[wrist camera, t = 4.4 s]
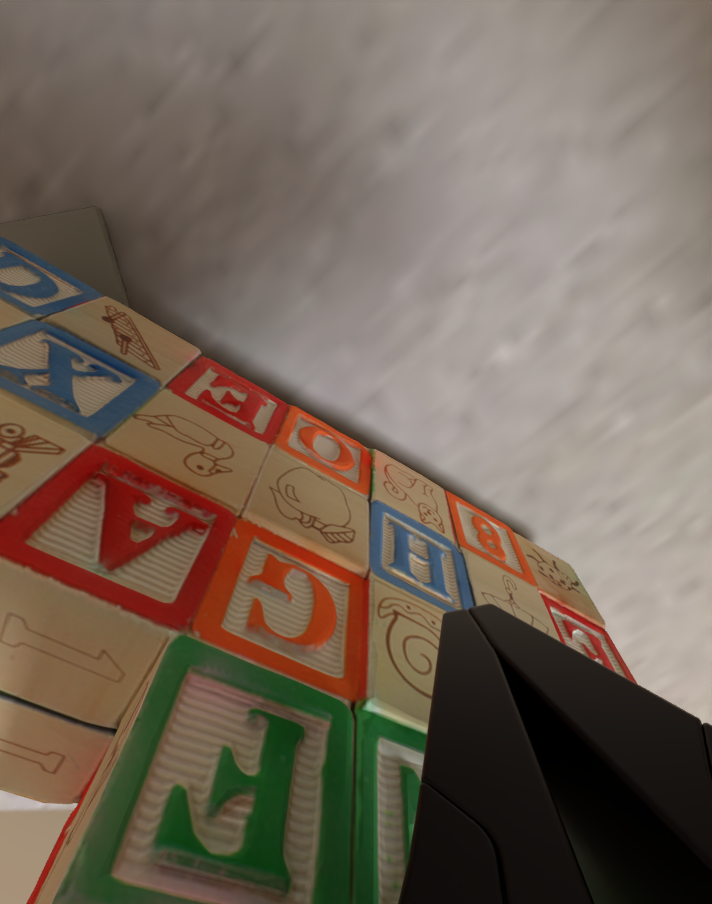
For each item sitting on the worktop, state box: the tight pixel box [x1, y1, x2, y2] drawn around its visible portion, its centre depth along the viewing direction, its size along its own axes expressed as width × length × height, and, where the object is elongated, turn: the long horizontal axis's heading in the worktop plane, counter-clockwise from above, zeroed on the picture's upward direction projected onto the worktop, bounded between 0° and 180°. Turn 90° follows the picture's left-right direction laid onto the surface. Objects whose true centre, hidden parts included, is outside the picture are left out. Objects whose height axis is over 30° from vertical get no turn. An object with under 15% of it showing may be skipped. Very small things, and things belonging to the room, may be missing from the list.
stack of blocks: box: [0, 236, 637, 904], centre depth 11 cm, size 21×6×12 cm, turn 58°
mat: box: [0, 206, 130, 308], centre depth 17 cm, size 12×18×1 cm, turn 10°
